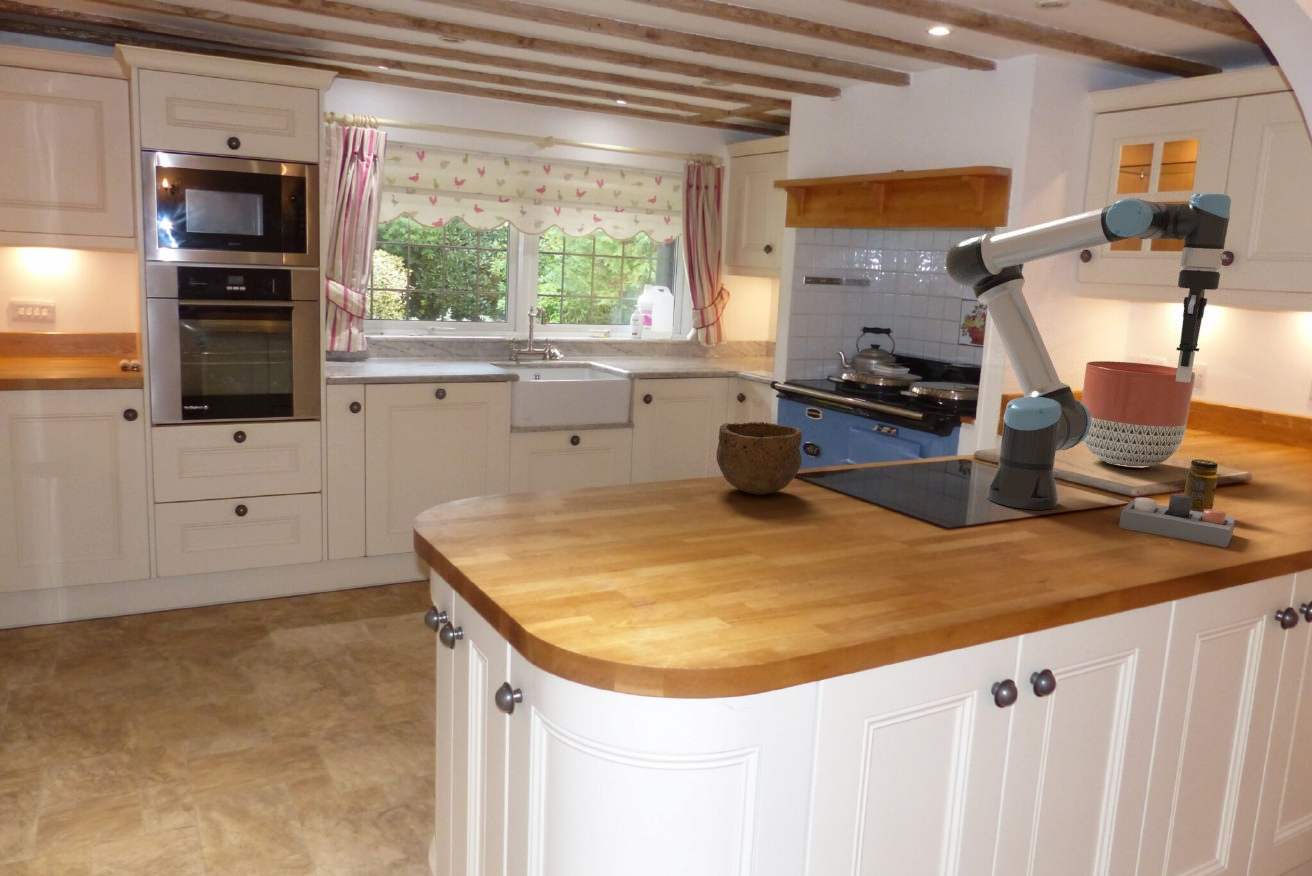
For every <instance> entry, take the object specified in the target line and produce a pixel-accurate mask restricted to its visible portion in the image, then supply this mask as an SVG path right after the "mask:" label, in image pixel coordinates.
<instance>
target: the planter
mask: <svg viewBox="0 0 1312 876" xmlns="http://www.w3.org/2000/svg"><path fill="white" fill-rule="evenodd" d="M1177 368H1178V367H1174V366H1166V365H1159V364H1149V363H1140V362H1128V361H1109V360H1101V361H1100V360H1097V361H1095V360H1094V361H1088V362H1086V364H1085V369H1084V370H1085V372H1084V377H1083V379H1084V380H1083V388H1082V395H1081V403H1083V404H1084V405H1085V406H1086V408H1087V409H1088V411H1089V413H1090V417H1091V427H1090V430H1089V432H1088V435H1087V436H1086V438H1085V439H1084V440H1083V441H1082V443H1083V445H1084V447H1086V448H1087V450H1088V451H1089V452H1090V453H1091V454H1092V455H1094V457H1096V458H1097V459H1098V460H1099V461H1101V460H1102V461H1101V462H1103V461H1105V462H1109V463H1112V464H1120V465H1127V466H1152V467H1155V466H1158V465H1159V464H1162V463H1164V462H1166V461H1167V460H1168V459H1170V458H1172V457H1173V456H1174V455H1175V454H1176V452H1177V451H1178V449H1179V448H1180V446H1181V445H1182V441H1183V439H1184V436H1185V433H1186V428H1187V424H1188V420H1189V419H1188V418H1189V413H1190V406H1191V402H1192V395H1193V391H1194V387H1195V386H1194V384H1195V378H1196V372H1194V371H1192V375H1191V381H1190V383H1188V382H1179V381H1175V380H1176V374H1177ZM1105 462H1104V463H1105Z"/></svg>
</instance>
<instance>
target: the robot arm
mask: <svg viewBox="0 0 1312 876" xmlns="http://www.w3.org/2000/svg"><path fill="white" fill-rule="evenodd" d="M1231 203H1232V199H1231V197H1230V196H1229V195H1228V194H1224V193H1205V192H1204V193H1203V192H1202V193H1194V194H1192V195H1191V197H1190V200H1189V202H1186V203H1173V202H1172V203H1169V202H1168V203H1167V202H1156V201H1149V200H1144V199H1141V198H1135V197H1130V198H1123V199H1122V198H1121V199H1120V200H1118V201H1116V202H1115V203H1113V204H1112V205H1108V206H1105V207H1100V208H1095V209H1091V210H1089V211H1084V212H1081V213H1077V214H1073V215H1070V216H1069V215H1068V216H1065V217H1061V218H1058V219H1054V220H1050V221H1046V222H1043V223H1038V224H1035V225H1031V226H1030V225H1029V226H1027V227H1023V228H1019V229H1016V230H1012V231H1009V232H1004V233H1001V234H994V233H993V232H987V233H983V234H977V235H973V236H966V237H963V238H960V239H959V240H957V241H955V242H954V244H952V245H951V246H950V247H949V249H948V252H947V253H946V258H945V268H946V272H947V274H948V275H949V277H950V278H951V279H952V280H953V281H954V282H955V283H957V284H959V285H961V286H963V287H964V286H965V287H972V291H973V293H974V295H975V298H976V299H977V301H978V303H982V304H985V306H987V309H988V311H989V315H990V316H991V319H992V321H993V324H994V326H995V329H996V331H997V334H998V336H999V339H1000V341H1001V342H1002V346H1003V348H1004V351H1005V353H1006V355H1007V358H1008V360H1009V362H1010V365H1011V367H1012V370H1013V371H1014V374H1015V377H1016V380H1017V382H1018V383H1019V386H1020V389H1021V391H1022V394H1023V397H1017V398H1014V399H1011V400H1009V402H1007V404H1006V407H1005V411H1004V415H1003V424H1002V425H1003V426H1002V435H1001V441H1000V442H1001V444H1000V452H999V459H998V461H999V462H998V466H997V468H996V470H995V472H994V474H993V477H992V478H991V480H990V483H989V485H988V487H987V493H986V498H987V499H988V500H989V501H991V502H994V503H995V504H999V505H1002V506H1006V507H1009V508H1010V507H1011V508H1017V509H1023V510H1034V511H1036V510H1038V511H1039V510H1040V511H1041V510H1051V509H1055V508H1057V506H1058V499H1059V496H1058V495H1059V494H1058V489H1057V486H1056V480H1055V476H1054V466H1055V460H1056V459H1055V457H1056V453H1057V452H1058V451H1066V450H1069V449H1071V448H1073V447H1075V446H1077V445H1078V446H1079V444H1081V443H1083V440H1084V439H1085V438H1086V436H1087V435H1088V432H1089V430H1090V427H1091V417H1090V413H1089V411H1088V409H1087V408H1086V406H1085V405H1084V404H1083V403H1082V401H1079V399H1078V400H1077V399H1076V398H1075V395H1074V393H1073V391H1072V388H1071V387H1070V385H1069V384H1067V383H1065V382H1062V381H1060V378H1059V375H1058V373H1057V371H1056V367H1055V366H1054V364H1053V361H1052V359H1051V356H1050V354H1049V352H1048V350H1047V347H1046V344H1045V342H1044V340H1043V337H1042V335H1041V333H1040V331H1039V328H1038V326H1037V324H1036V321H1035V318H1034V316H1033V314H1032V312H1031V309H1030V307H1029V305H1028V303H1027V300H1026V298H1025V295H1024V293H1023V290H1022V289H1023V288H1024V284H1025V282H1026V280H1025V276H1023V269H1024V264H1028V263H1031V262H1035V261H1039V260H1043V259H1046V258H1048V259H1049V258H1051V257H1056V256H1059V255H1065V254H1068V253H1072V252H1075V251H1081V250H1084V249H1088V248H1093V247H1096V246H1097V247H1098V246H1101V245H1105V244H1111V243H1115V242H1119V241H1123V240H1124V241H1125V240H1128V239H1132V238H1134V239H1138V240H1177V241H1178V240H1179V241H1182V240H1183V241H1184V243H1183V248H1182V251H1181V253H1182V254H1181V259H1180V267H1181V268H1182V269H1181V271H1179V274H1178V282H1177V287H1178V288H1181V289H1189V291H1188V294H1187V295H1188V296H1185V297H1184V299H1183V313H1182V318H1183V319H1182V324H1181V333H1180V341H1179V344H1178V346H1179V347H1176V351H1179V355H1178V363H1177V367H1176V368H1177V374H1176V380H1175V381H1179V382H1188V383H1190V381H1191V375H1192V372H1193V366H1194V361H1195V356H1196V352H1199V351H1200V348H1198V345H1199V344H1198V341H1199V336H1200V331H1201V325H1202V320H1203V318H1204V314H1205V309H1206V306H1207V304H1208V303H1207V302H1208V298H1207V297H1206V298H1205V292H1206V291H1205V290H1209V291H1211V290H1212V291H1213V290H1215V291H1216V290H1217V289H1218V288H1219V284H1220V277H1221V273H1220V272H1219V271H1218V270H1220V269H1221V268H1222V263H1223V261H1222V260H1226V259H1227V255H1226V254H1223V253H1224V250H1225V244H1226V238H1227V232H1228V228H1229V222H1230V219H1231V216H1230V215H1231V214H1230V213H1231V205H1232V204H1231Z"/></svg>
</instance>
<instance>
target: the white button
mask: <svg viewBox="0 0 1312 876" xmlns="http://www.w3.org/2000/svg"><path fill="white" fill-rule="evenodd" d="M1134 501H1135V505H1134V509H1135V510H1141V511H1147V512H1152V513H1155V506H1156V504H1157V500H1156V499H1152V498H1149V497H1141V496H1140V497H1135V499H1134Z"/></svg>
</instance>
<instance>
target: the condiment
mask: <svg viewBox="0 0 1312 876" xmlns="http://www.w3.org/2000/svg"><path fill="white" fill-rule="evenodd" d="M1190 463H1191V464H1190V467H1189V470H1188V472H1187V475H1186V480H1185V484H1184V485H1185V486H1184V491H1183V495H1186V496H1190V497H1192V501H1191V507H1190V510H1191V511H1197V512H1204V509H1213V507H1214V502H1215V495H1216V489H1217V485H1218V484H1217V482H1218V476H1219V475H1217V472H1218V466H1219V465H1218V463H1217V462H1215V461H1211V460H1207V459H1192V460H1191V462H1190Z"/></svg>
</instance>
